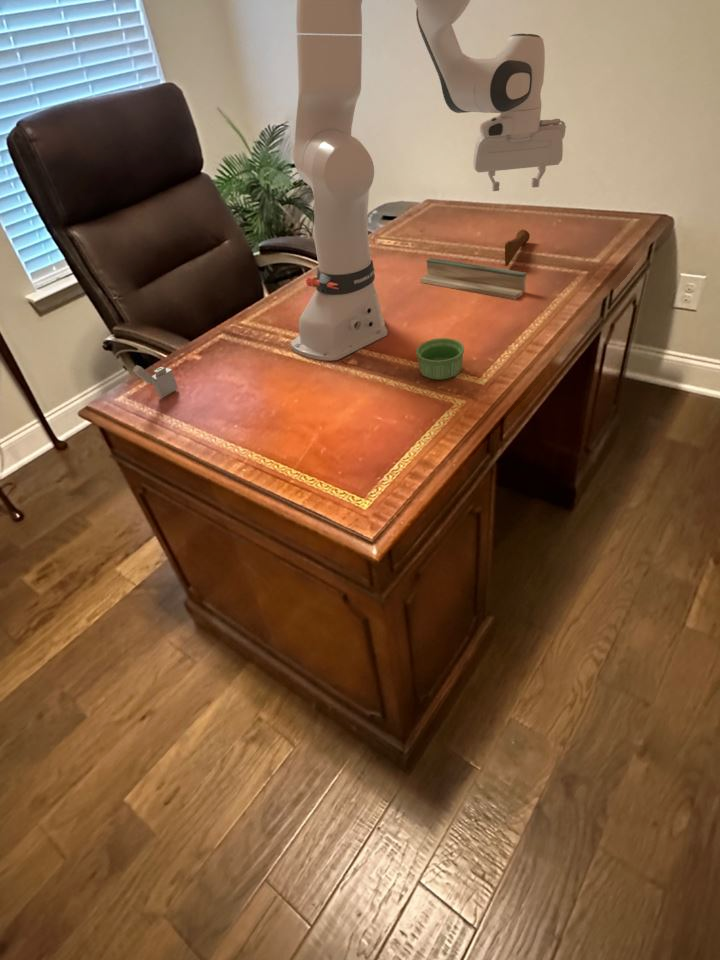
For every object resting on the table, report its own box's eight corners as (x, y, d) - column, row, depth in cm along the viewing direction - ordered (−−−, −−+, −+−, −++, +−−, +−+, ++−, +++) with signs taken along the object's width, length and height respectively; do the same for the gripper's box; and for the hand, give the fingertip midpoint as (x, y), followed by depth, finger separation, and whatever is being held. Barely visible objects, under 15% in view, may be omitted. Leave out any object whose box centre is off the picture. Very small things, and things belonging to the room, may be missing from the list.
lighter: (173, 386, 120) (160, 351, 115) (178, 388, 119) (165, 352, 114) (145, 403, 116) (130, 367, 111) (151, 405, 115) (136, 369, 110)
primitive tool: (504, 267, 145) (518, 266, 143) (504, 244, 141) (519, 243, 140) (516, 243, 158) (529, 242, 157) (516, 222, 155) (530, 221, 154)
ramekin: (461, 356, 116) (461, 335, 113) (466, 379, 109) (466, 358, 106) (416, 360, 116) (415, 340, 114) (418, 383, 110) (417, 363, 107)
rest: (515, 299, 132) (516, 280, 129) (420, 282, 146) (419, 264, 143) (525, 292, 134) (526, 272, 131) (431, 275, 148) (430, 257, 145)
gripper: (563, 115, 134) (556, 181, 143) (473, 124, 136) (471, 189, 144) (570, 119, 129) (562, 187, 138) (476, 129, 131) (474, 196, 139)
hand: (515, 188), depth 141 cm, fingers open, 8 cm apart
